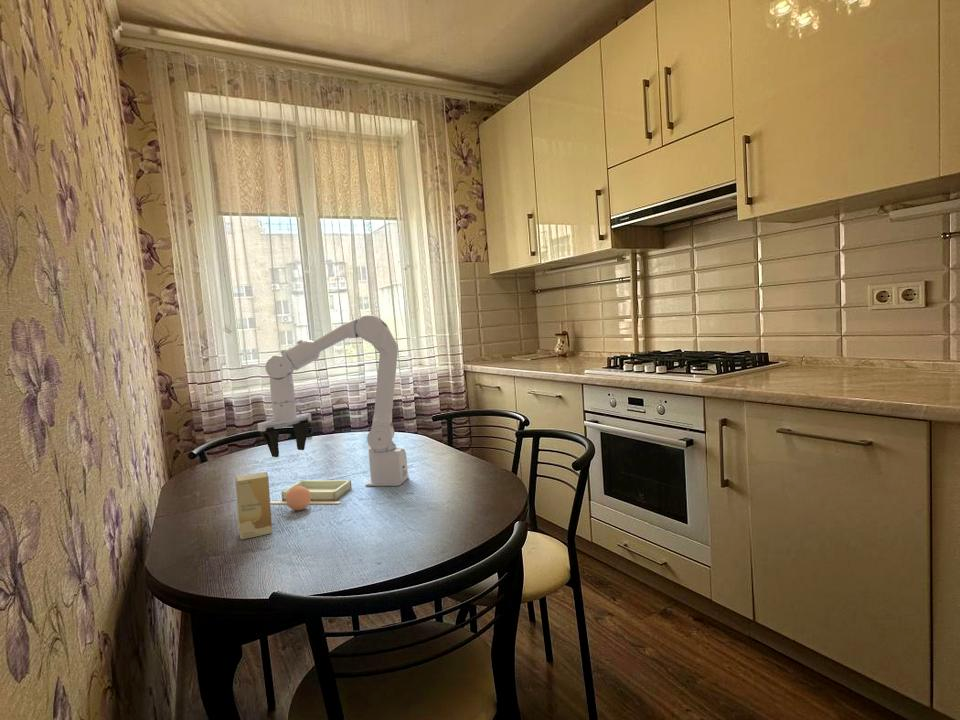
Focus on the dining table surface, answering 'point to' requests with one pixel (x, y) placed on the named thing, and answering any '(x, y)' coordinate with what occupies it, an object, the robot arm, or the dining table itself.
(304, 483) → the tray
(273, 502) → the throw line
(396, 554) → the dining table surface
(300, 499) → the ball
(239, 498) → the skincare box
